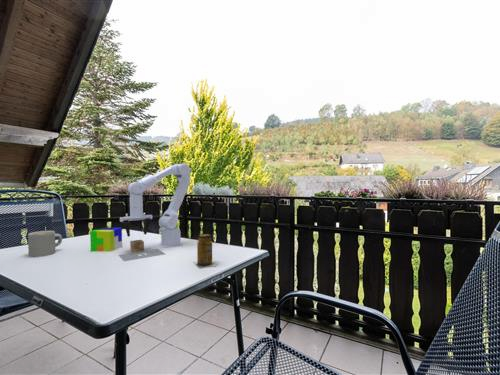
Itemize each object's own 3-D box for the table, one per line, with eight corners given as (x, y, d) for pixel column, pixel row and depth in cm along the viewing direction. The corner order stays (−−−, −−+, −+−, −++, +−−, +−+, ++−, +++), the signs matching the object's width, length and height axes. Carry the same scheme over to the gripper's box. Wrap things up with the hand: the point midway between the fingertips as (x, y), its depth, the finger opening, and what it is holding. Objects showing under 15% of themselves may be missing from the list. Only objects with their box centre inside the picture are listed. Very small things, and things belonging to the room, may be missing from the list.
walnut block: (141, 249, 134) (140, 239, 134) (144, 251, 130) (143, 241, 130) (130, 251, 131) (130, 241, 131) (133, 253, 127) (132, 242, 127)
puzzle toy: (122, 247, 139) (121, 227, 139) (110, 252, 129) (109, 231, 129) (103, 246, 140) (103, 227, 140) (90, 251, 130) (90, 231, 130)
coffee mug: (32, 258, 119) (31, 235, 119) (25, 254, 125) (25, 233, 125) (67, 251, 130) (66, 231, 129) (59, 248, 136) (58, 228, 135)
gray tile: (157, 249, 134) (157, 248, 134) (166, 254, 124) (166, 254, 124) (118, 255, 123) (118, 254, 123) (124, 262, 114) (124, 261, 114)
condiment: (210, 260, 116) (210, 232, 116) (216, 266, 109) (216, 236, 108) (193, 262, 113) (193, 234, 113) (199, 268, 105) (198, 238, 105)
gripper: (121, 209, 123) (122, 238, 123) (154, 206, 131) (154, 234, 132) (118, 207, 128) (119, 236, 129) (149, 205, 137) (150, 232, 138)
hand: (136, 235), depth 131 cm, fingers open, 7 cm apart
